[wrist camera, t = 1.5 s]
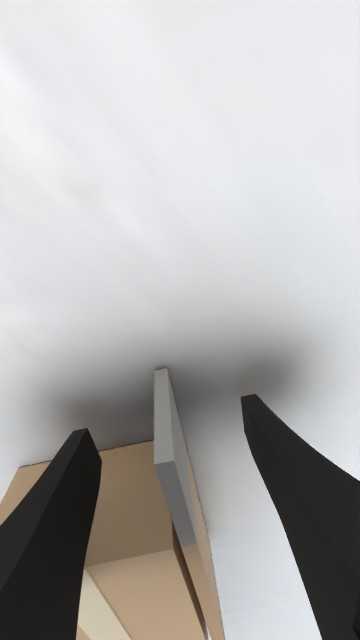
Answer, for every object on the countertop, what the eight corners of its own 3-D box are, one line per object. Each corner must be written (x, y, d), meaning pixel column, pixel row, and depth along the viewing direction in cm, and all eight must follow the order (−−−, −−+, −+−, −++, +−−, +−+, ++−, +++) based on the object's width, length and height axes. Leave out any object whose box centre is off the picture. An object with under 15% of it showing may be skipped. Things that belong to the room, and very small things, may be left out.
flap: (209, 540, 18) (226, 646, 14) (200, 542, 18) (214, 648, 14) (167, 367, 12) (174, 460, 8) (154, 370, 12) (153, 464, 8)
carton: (196, 540, 19) (210, 655, 14) (81, 564, 19) (57, 686, 14) (167, 437, 14) (173, 551, 10) (18, 467, 14) (-47, 597, 10)
